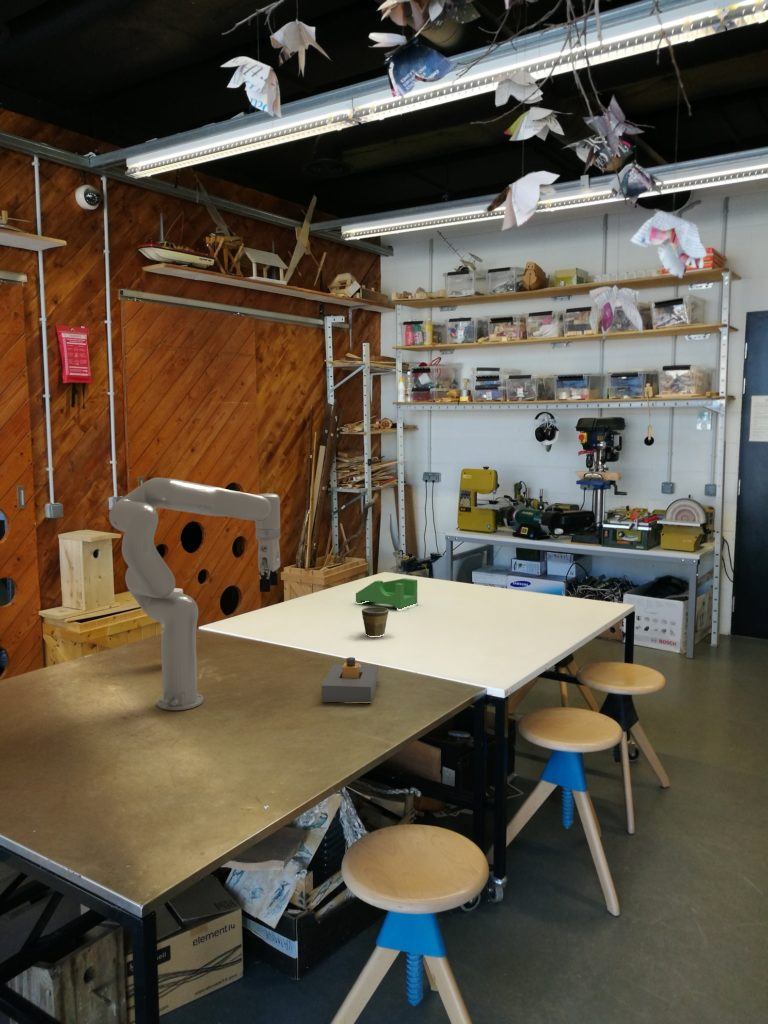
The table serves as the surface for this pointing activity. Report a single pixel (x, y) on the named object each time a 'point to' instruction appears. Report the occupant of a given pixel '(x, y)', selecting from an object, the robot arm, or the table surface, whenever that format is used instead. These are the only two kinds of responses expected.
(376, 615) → the ceramic cup
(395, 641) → the table surface
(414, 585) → the ramp block with notch
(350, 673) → the plug
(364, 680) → the socket
